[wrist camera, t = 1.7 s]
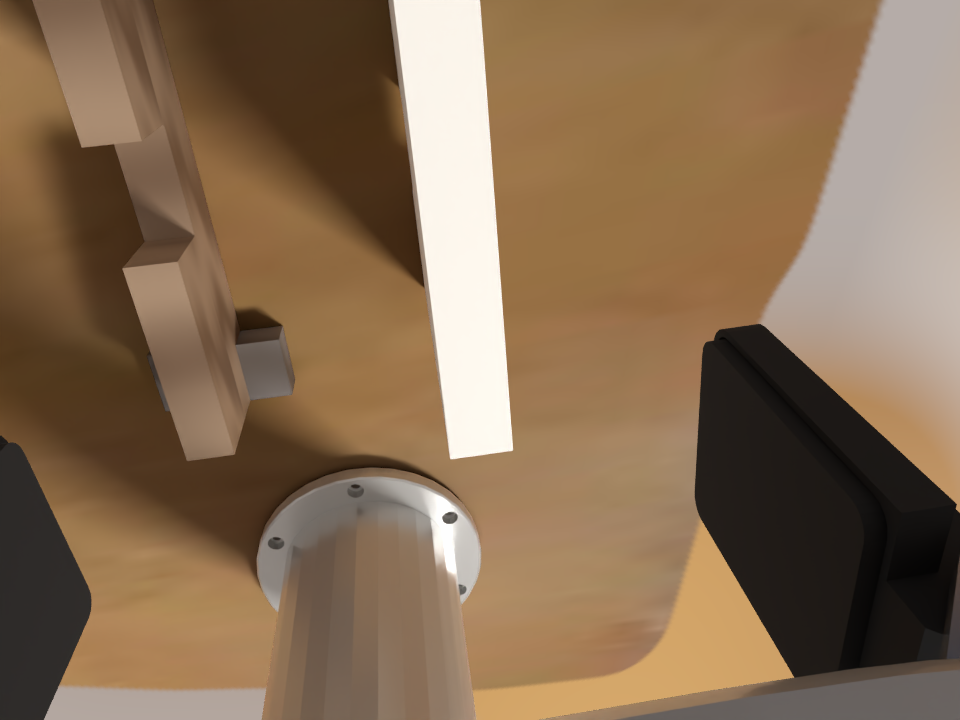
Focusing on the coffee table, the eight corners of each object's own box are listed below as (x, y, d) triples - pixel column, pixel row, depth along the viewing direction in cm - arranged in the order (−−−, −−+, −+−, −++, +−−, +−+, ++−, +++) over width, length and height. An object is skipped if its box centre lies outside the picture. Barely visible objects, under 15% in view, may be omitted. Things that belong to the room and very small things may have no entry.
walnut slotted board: (295, 379, 37) (281, 448, 32) (173, 395, 37) (139, 467, 31) (171, -151, 26) (120, -179, 21) (-3, -137, 26) (-98, -162, 21)
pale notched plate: (433, -47, 29) (476, -53, 17) (465, 283, 36) (512, 450, 23) (382, -42, 29) (387, -46, 17) (424, 288, 36) (450, 459, 23)
